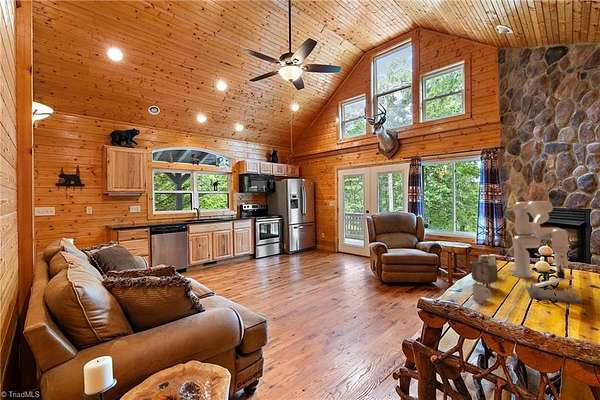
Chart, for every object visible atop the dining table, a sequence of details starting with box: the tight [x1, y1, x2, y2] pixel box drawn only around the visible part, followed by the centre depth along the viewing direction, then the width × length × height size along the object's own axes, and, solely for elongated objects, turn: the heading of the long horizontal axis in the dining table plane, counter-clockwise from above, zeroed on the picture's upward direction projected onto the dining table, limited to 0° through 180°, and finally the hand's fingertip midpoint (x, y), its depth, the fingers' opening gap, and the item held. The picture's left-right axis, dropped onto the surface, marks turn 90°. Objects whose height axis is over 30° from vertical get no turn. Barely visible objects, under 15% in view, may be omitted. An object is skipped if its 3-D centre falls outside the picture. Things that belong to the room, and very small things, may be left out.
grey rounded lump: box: [472, 283, 492, 302], centre depth 182 cm, size 7×10×9 cm
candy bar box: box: [478, 254, 497, 265], centre depth 231 cm, size 11×5×16 cm, turn 80°
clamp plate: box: [526, 282, 583, 305], centre depth 182 cm, size 24×16×7 cm, turn 57°
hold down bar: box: [532, 274, 575, 288], centre depth 182 cm, size 21×4×2 cm, turn 57°
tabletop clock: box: [470, 251, 499, 290], centre depth 205 cm, size 14×9×25 cm, turn 23°
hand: (560, 278), depth 179 cm, fingers closed
